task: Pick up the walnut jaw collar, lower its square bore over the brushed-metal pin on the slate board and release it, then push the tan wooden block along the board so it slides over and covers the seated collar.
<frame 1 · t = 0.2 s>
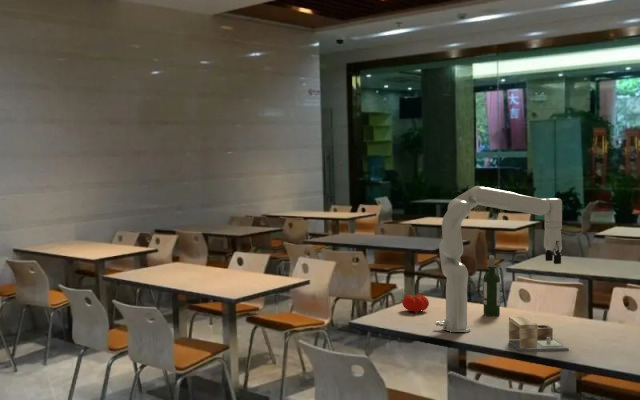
hand: (553, 262, 307), 31 cm above the table, fingers open, 9 cm apart
jaw: (542, 339, 290), on the table
tan wooden block: (522, 332, 278), point 6 cm above the table, slide at 0.0 cm
board: (538, 346, 279), on the table
tomato: (415, 312, 346), on the table
wine bottle: (491, 315, 338), on the table
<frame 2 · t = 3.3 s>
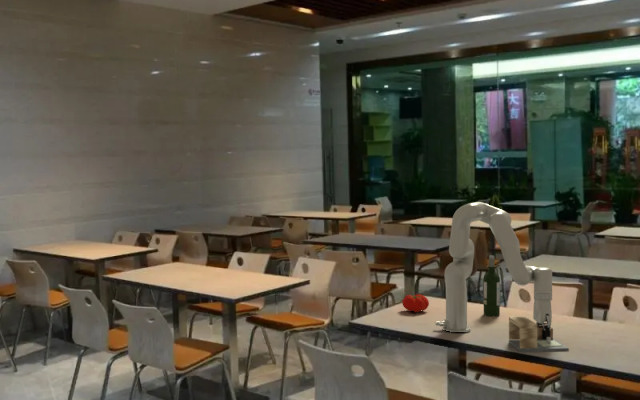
hand: (543, 336, 289), 1 cm above the table, fingers closed on jaw, 6 cm apart
jaw: (542, 339, 290), on the table, touching gripper
everything else where it was.
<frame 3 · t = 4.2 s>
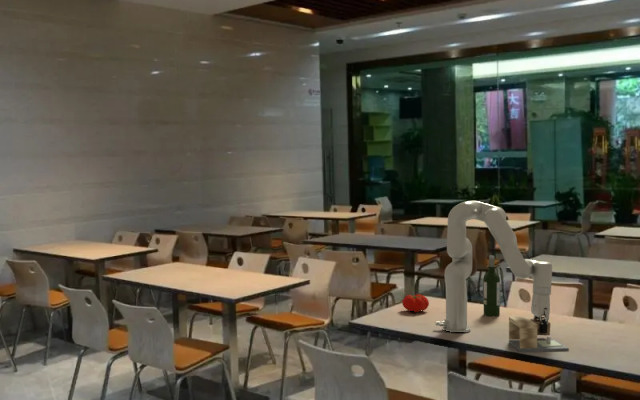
hand: (540, 330, 290), 4 cm above the table, fingers closed on jaw, 6 cm apart
jaw: (539, 333, 290), point 3 cm above the table, touching gripper
everything else where it was.
when the fingers open (3 cm above the table, at t = 8.3 s): jaw stays where it is, resting on board.
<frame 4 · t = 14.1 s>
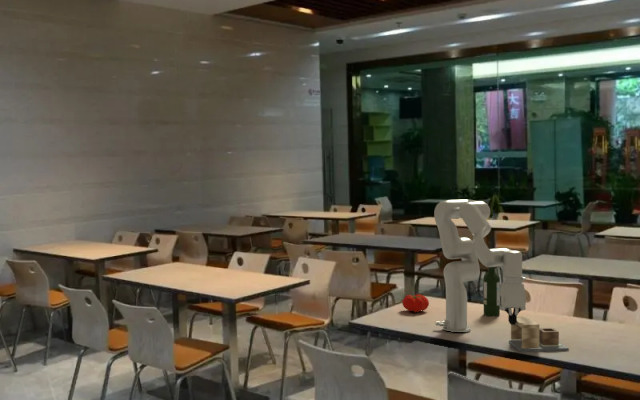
hand: (512, 324, 278), 10 cm above the table, fingers closed
jaw: (548, 342, 279), point 1 cm above the table, touching board
tan wooden block: (524, 332, 278), point 6 cm above the table, slide at 0.9 cm, touching gripper
everything else where it was.
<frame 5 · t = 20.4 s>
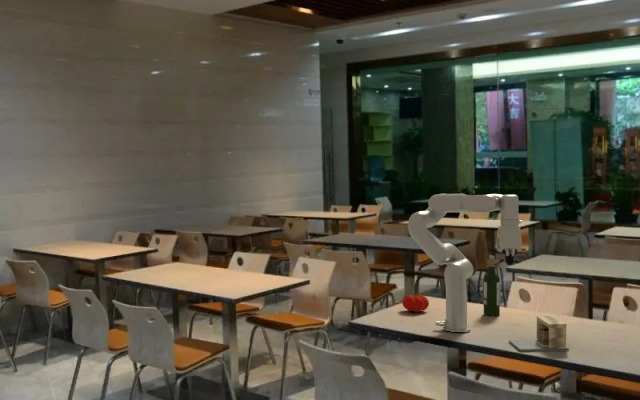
hand: (509, 264, 293), 32 cm above the table, fingers closed
tan wooden block: (551, 331, 279), point 6 cm above the table, slide at 12.0 cm
everything else where it was.
at the end: jaw 0.2 cm from the target spot on the board, point 1.3 cm above the board's base; tan wooden block slide at 12.0 cm; jaw tilted 0° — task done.
